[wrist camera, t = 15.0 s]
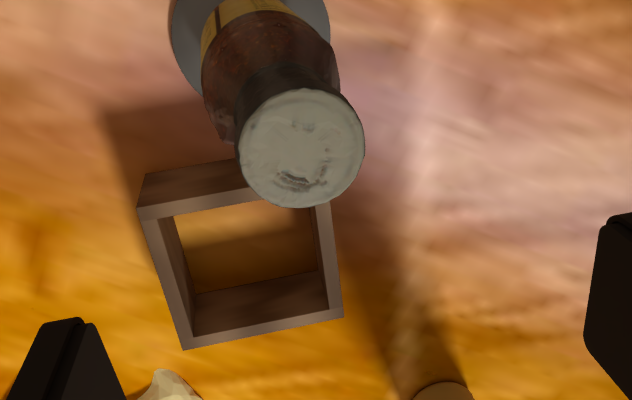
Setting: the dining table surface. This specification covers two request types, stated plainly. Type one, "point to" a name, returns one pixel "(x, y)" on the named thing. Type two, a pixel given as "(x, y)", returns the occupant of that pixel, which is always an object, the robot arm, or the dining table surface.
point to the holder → (242, 301)
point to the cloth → (168, 387)
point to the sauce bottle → (279, 103)
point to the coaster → (193, 13)
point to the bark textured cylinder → (444, 392)
